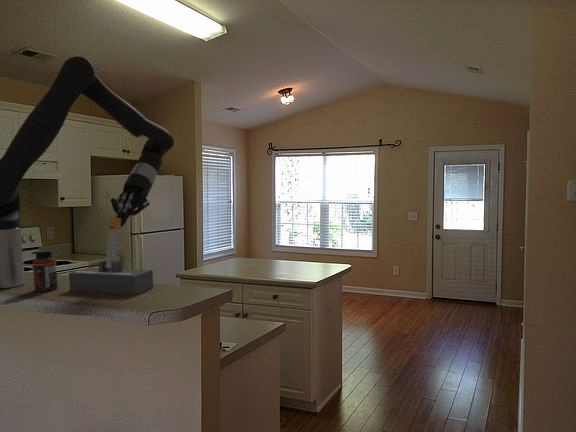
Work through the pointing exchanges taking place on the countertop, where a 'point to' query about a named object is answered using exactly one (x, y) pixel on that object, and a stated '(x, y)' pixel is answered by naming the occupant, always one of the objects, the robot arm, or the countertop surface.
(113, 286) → the block
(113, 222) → the lever
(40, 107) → the robot arm
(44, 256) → the supplement bottle
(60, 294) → the countertop surface
